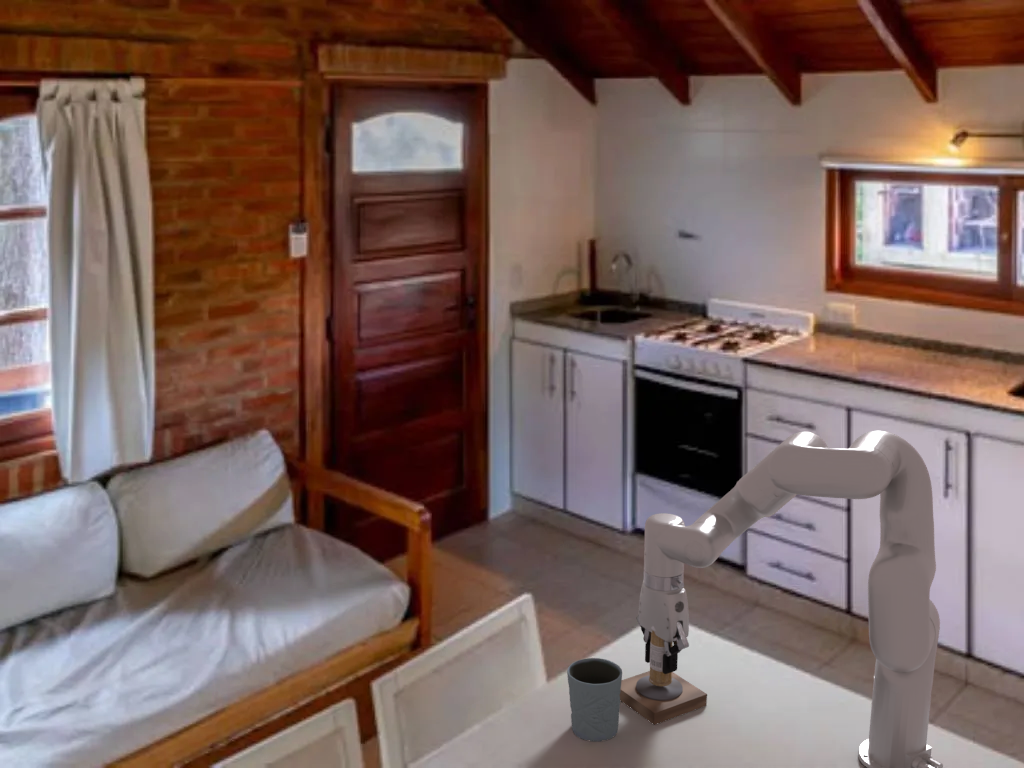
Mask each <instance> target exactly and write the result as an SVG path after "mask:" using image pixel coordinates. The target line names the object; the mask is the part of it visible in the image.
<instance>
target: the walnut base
mask: <svg viewBox="0 0 1024 768" xmlns="http://www.w3.org/2000/svg"><path fill="white" fill-rule="evenodd" d="M649 676H650V670H648V671H644V672H642V673H640V674H639V673H638V674H636V675H633V676H631V677H627V678H624V679H622V681H621V689H620V691H621V692H620V700H621V701H622V702H621V701H620V702H621V703H623V704H624V703H625V704H626V705H625V704H624V705H625V706H627V705H628V706H629V707H628V706H627V707H628V708H630V707H631V708H632V709H633V710H632V709H631V708H630V709H631V710H632V711H634V712H635V711H636V712H635V713H637V712H638V713H637V714H638V715H639V714H640V715H639V716H641V717H642V718H643V719H645V720H646V719H647V720H646V721H648V720H649V721H650V722H649V721H648V722H649V723H651V724H652V723H653V724H654V725H653V724H652V725H653V726H657V725H658V724H657V723H659V724H661V723H664V722H666V721H665V720H667V721H669V720H671V718H672V719H675V718H677V716H678V717H680V716H683V715H685V713H686V714H687V713H690V712H694V711H696V710H698V709H702V708H704V707H707V703H708V694H707V693H706V692H705V691H703V690H702V689H700V688H698V687H697V686H696V685H694V684H693V683H690V681H688V680H685V679H684V678H682V677H681V675H680V676H679V675H678V674H677V673H675V672H672V682H671V684H669V685H667V686H656V685H653V684H652V683H651V682H650V681H649ZM701 707H702V708H701ZM695 709H696V710H695ZM682 714H683V715H682ZM674 717H675V718H674ZM668 719H669V720H668ZM663 721H664V722H663ZM660 722H661V723H660Z"/></svg>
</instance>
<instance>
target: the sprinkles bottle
mask: <svg viewBox="0 0 1024 768" xmlns="http://www.w3.org/2000/svg"><path fill="white" fill-rule="evenodd" d="M651 629H653V630H654V631H656V630H655V628H654V626H652V627H651ZM653 630H652V633H651V641H650V662H649V671H650V676H649V681H650V682H651V683H652V684H653V685H656V686H667V685H669V684H671V682H672V672H671V673H668V674H664V673H663V671H662V670H663V654H665V646H664V640H663V639H662V638H660V637H658V636H656V634H655V632H654V631H653ZM673 645H674V644H673V642H670V646H671V647H672V646H673Z"/></svg>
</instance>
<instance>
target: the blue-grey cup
mask: <svg viewBox="0 0 1024 768" xmlns="http://www.w3.org/2000/svg"><path fill="white" fill-rule="evenodd" d="M566 673H567V675H566V676H567V684H568V693H569V694H568V695H569V703H570V704H569V706H570V711H571V715H570V720H571V729H572V733H574V735H575V736H576V737H578V738H580V739H581V740H584V739H585V740H584V741H586V740H590V741H589V742H603V741H602V740H606V741H608V740H607V739H609V740H611V739H613V738H614V737H615V736H616V735H617V734H616V733H618V730H619V721H620V708H621V701H620V692H621V691H620V689H621V681H622V680H623V670H622V668H621V666H620V665H618V664H617V663H615V662H614V661H611V660H609V659H605V658H600V657H599V658H597V657H589V658H588V657H587V658H582V659H578V660H576V661H573V662H572V663H571V664H570V665H569V666H568V667H567V671H566ZM613 736H614V737H613ZM612 737H613V738H612ZM610 738H611V739H610Z"/></svg>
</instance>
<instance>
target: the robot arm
mask: <svg viewBox="0 0 1024 768" xmlns="http://www.w3.org/2000/svg"><path fill="white" fill-rule="evenodd" d="M932 488H933V487H932V481H931V476H930V474H929V470H928V467H927V464H926V463H925V461H924V459H923V458H922V455H920V453H919V452H918V451H917V449H916V448H915V447H914V446H913V445H912V444H911V443H909V442H908V440H905V439H904V438H902V436H899V435H897V434H894V433H892V432H890V431H884V430H871V431H868V432H865V433H864V434H861V435H860V436H859V437H858V438H856V439H855V440H854V441H853V442H852V443H851V445H850V446H849V447H848V448H833V447H831V448H830V447H829V446H828V444H827V443H826V441H825V440H824V439H823V438H821V436H819V435H818V434H816V433H814V432H811V431H799V432H795V433H793V434H792V435H790V436H788V437H786V439H784V440H783V441H782V442H781V443H780V444H779V445H777V446H776V447H775V448H774V449H772V451H771V452H770V453H769V454H767V455H766V456H765V457H764V458H762V459H761V460H760V461H759V462H758V463H757V464H756V465H755V466H753V467H752V468H751V469H750V470H749V471H748V472H746V473H745V474H744V475H743V476H742V477H741V478H739V480H737V481H736V484H735V485H734V487H732V488H731V489H730V491H728V492H727V493H726V494H725V495H723V496H722V497H721V498H720V499H719V500H718V501H717V502H716V503H714V504H713V505H712V506H711V507H709V509H708V510H706V511H705V512H704V513H703V514H701V515H700V516H699V517H698V518H697V519H696V520H695V521H694V522H693V523H692V524H689V525H686V524H685V521H684V520H683V518H682V517H681V516H679V515H677V514H673V513H665V512H663V513H661V512H660V513H655V514H651V515H650V516H649V517H647V518H646V521H645V523H644V542H643V543H644V544H643V546H644V551H643V552H644V553H643V554H644V555H643V557H644V558H643V581H642V584H641V589H640V594H639V604H638V615H637V616H636V622H637V624H638V625H639V627H640V630H641V632H642V634H643V635H642V636H643V637H642V638H643V642H644V643H645V647H644V649H645V651H644V652H645V653H644V654H645V655H644V661H645V663H647V664H650V641H651V633H652V630H653V629H651V627H652V626H654V628H655V630H656V631H654V630H653V631H654V632H655V634H656V636H658V637H660V638H662V639H663V640H664V646H665V654H663V670H662V671H663V673H664V674H668V673H671V672H673V673H675V672H677V670H678V658H679V657H678V655H679V653H681V651H682V650H684V649H686V648H689V646H690V643H689V641H688V637H689V632H690V624H689V623H690V621H689V620H690V619H689V618H690V616H689V614H690V613H689V603H688V596H687V591H686V589H685V588H684V587H685V583H684V578H685V577H684V573H685V565H688V566H690V567H693V568H698V569H699V568H700V569H702V568H708V567H709V566H712V564H714V563H715V562H716V560H718V558H719V557H720V556H721V555H722V553H724V552H725V550H726V549H727V548H728V547H729V546H730V545H731V544H732V543H733V542H734V541H736V539H737V538H739V537H740V536H741V535H742V534H744V533H745V532H746V531H747V530H749V528H750V527H752V526H753V525H754V524H755V523H757V522H758V521H760V520H761V519H764V518H770V517H772V516H773V515H775V514H776V513H777V512H778V511H780V510H781V509H783V507H785V505H787V504H788V503H789V502H790V501H792V500H793V499H794V498H795V497H796V496H805V497H815V498H817V497H818V498H830V499H831V498H832V499H847V500H866V499H871V498H875V497H878V496H880V499H879V501H880V502H879V522H880V524H879V525H880V533H879V535H880V539H879V540H880V542H879V543H880V544H879V549H878V551H877V554H876V555H875V559H874V560H873V562H872V565H871V567H870V569H869V573H868V579H867V580H868V581H867V602H868V603H867V605H868V606H867V609H868V637H869V638H868V639H869V646H870V650H871V651H872V654H873V655H874V657H875V663H874V664H875V665H874V674H873V686H872V698H871V706H870V707H871V709H870V718H869V719H870V720H869V732H868V738H867V739H866V740H864V741H862V742H861V743H860V745H859V746H858V755H857V757H858V760H859V761H860V762H861V764H862V765H863V766H866V767H867V768H943V767H944V764H943V763H942V762H940V761H938V760H937V759H934V758H933V756H932V748H933V747H932V746H930V745H928V744H927V742H928V741H927V740H928V731H929V720H930V710H931V703H932V701H931V700H932V690H933V686H934V685H933V684H934V673H935V664H936V659H937V649H938V643H939V639H940V638H939V637H940V631H941V630H940V629H941V627H940V624H941V622H940V621H941V620H940V615H939V611H938V608H937V607H936V605H935V603H934V602H933V601H932V600H931V599H930V591H931V587H932V584H933V581H934V578H935V575H936V571H937V563H936V551H935V549H936V548H935V522H934V520H935V519H934V501H933V498H934V497H933V489H932ZM670 642H673V646H672V647H671V646H670ZM866 767H865V768H866Z"/></svg>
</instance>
